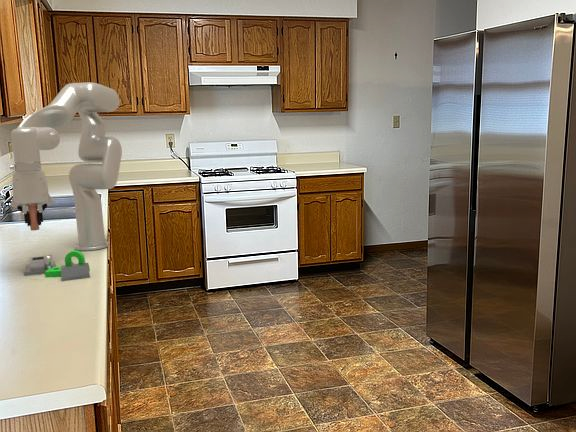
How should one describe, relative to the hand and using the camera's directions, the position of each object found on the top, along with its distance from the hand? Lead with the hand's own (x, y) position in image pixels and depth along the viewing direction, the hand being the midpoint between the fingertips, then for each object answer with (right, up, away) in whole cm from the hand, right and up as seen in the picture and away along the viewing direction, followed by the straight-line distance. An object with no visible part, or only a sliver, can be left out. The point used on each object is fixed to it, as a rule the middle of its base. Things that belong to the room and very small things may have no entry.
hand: (34, 224), depth 184 cm
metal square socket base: (+1, -15, +3) cm, 15 cm away
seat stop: (+16, -16, -7) cm, 24 cm away
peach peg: (0, -2, 0) cm, 2 cm away
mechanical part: (+12, -16, -2) cm, 20 cm away
